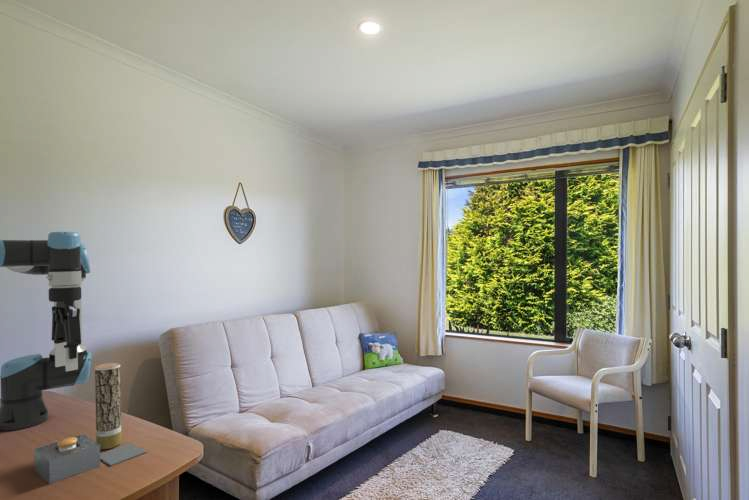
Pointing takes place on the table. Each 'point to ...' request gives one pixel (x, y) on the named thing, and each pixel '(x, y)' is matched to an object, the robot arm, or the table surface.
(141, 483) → the table surface
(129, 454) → the mat
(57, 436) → the table surface
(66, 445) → the plunger
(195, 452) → the table surface
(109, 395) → the paper tube
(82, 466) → the block
